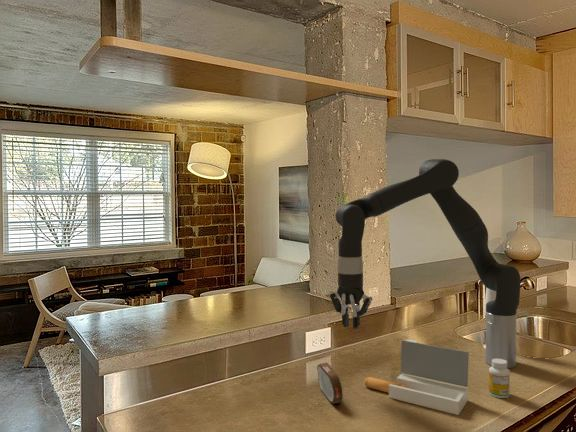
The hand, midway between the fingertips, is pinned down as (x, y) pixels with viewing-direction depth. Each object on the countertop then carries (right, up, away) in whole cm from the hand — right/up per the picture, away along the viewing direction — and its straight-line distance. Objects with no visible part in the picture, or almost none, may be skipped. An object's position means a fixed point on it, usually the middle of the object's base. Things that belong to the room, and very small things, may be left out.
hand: (350, 327), depth 140 cm
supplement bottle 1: (+22, -16, +13) cm, 30 cm away
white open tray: (+20, -17, -11) cm, 29 cm away
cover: (+23, -8, -8) cm, 25 cm away
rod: (+9, -18, -5) cm, 20 cm away
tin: (-7, -18, -8) cm, 21 cm away
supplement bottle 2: (+41, -17, -9) cm, 45 cm away
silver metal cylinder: (+56, -15, +29) cm, 65 cm away
